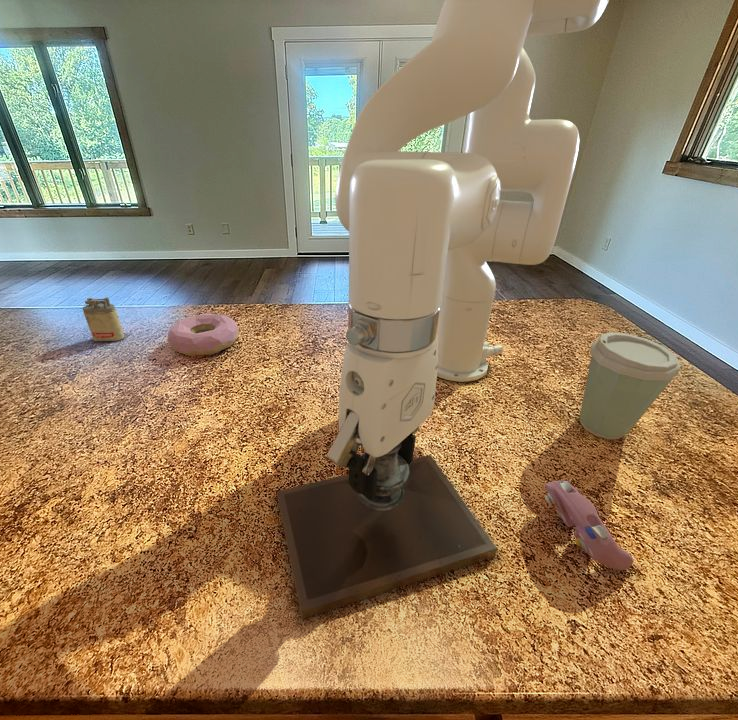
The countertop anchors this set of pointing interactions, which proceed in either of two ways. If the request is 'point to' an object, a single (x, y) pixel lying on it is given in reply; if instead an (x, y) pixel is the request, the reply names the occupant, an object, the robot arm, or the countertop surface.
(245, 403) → the countertop surface
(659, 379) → the disposable coffee cup
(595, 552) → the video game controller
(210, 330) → the donut
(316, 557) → the board
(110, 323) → the lighter
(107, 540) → the countertop surface
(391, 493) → the stone chess piece
